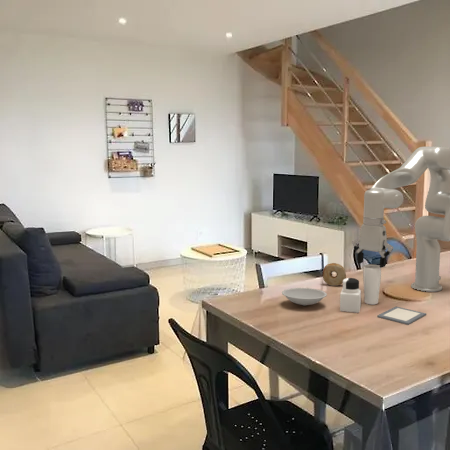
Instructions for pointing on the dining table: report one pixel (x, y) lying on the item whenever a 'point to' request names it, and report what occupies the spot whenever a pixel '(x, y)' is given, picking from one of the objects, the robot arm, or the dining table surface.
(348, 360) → the dining table surface
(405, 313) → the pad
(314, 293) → the dish
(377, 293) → the drinking glass
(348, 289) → the medicine bottle
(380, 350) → the dining table surface
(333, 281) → the brown thick ring
